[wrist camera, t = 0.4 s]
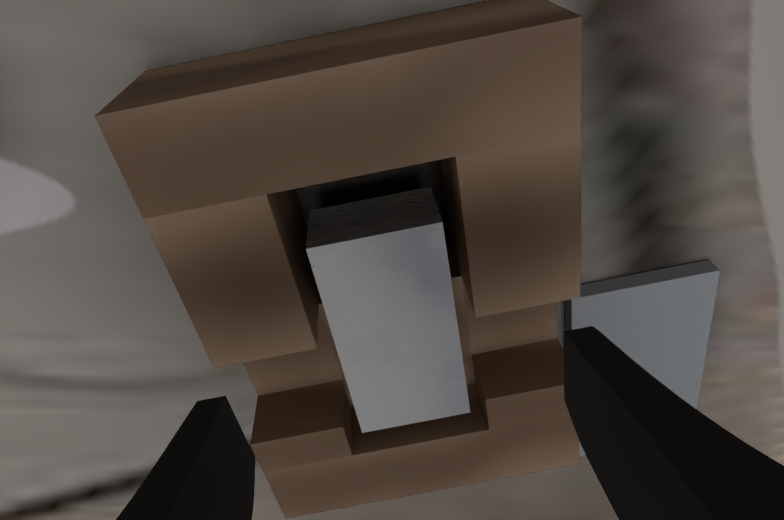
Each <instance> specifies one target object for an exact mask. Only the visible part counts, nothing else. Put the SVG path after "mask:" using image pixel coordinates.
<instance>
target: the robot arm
mask: <svg viewBox="0 0 784 520" xmlns="http://www.w3.org/2000/svg"><path fill="white" fill-rule="evenodd" d="M564 401H565V403H566V406H567V409H568V412H569V414H570V417H571V420H572V423H573V425H574V428H575V431H576V433H577V436H578V438H579V441H580V444H581V446H582V448H583V450H584V452H585V454H586V456H587V458H588V460H589V462H590V464H591V466H592V468H593V470H594V472H595V474H596V476H597V478H598V480H599V481H600V483H601V485H602V487H603V489H604V491H605V493H606V495H607V497H608V499H609V501H610V503H611V505H612V507H613V509H614V511H615V513H616V515H617V516H618V518H619V520H784V466H783V465H781V464H779V463H778V462H776V461H774V460H773V459H771V458H769V457H768V456H766V455H764V454H763V453H761V452H760V451H758V450H756V449H755V448H753V447H751V446H750V445H748V444H747V443H745V442H743V441H742V440H740V439H739V438H737V437H736V436H734V435H733V434H731V433H730V432H728V431H727V430H725V429H724V428H722V427H721V426H719V425H718V424H717V423H715V422H714V421H712V420H711V419H709V418H708V417H707V416H705V415H704V414H702V413H701V412H699V411H698V410H697V409H695V408H694V407H693V406H691V405H690V404H688V403H687V402H686V401H684V400H683V399H682V398H680V397H679V396H678V395H677V394H675V393H674V392H673V391H671V390H670V389H669V388H667V387H666V386H665V385H664V384H662V383H661V382H660V381H658V380H657V379H656V378H655V377H653V376H652V375H651V374H650V373H648V372H647V371H646V370H645V369H643V368H642V367H641V366H640V365H639V364H637V363H636V362H635V361H634V360H633V359H631V358H630V357H629V356H628V355H627V354H626V353H624V352H623V351H622V350H621V349H620V348H618V347H617V346H616V345H615V344H614V343H613V342H612V341H610V340H609V339H608V338H607V337H606V336H605V335H603V334H602V333H601V332H600V331H599V330H598V329H596V328H595V327H593V326H590V327H584V328H579V329H574V330H569V331H564ZM254 481H255V457H254V455H253V453H252V451H251V449H250V446H249V444H248V442H247V440H246V438H245V436H244V434H243V432H242V429H241V427H240V425H239V423H238V421H237V419H236V417H235V415H234V413H233V410H232V408H231V406H230V404H229V402H228V400H227V398H226V396H222V397H217V398H212V399H207V400H201V401H197V403H196V404H195V406H194V407H193V409H192V410H191V411H190V413H189V414H188V416H187V417H186V419H185V420H184V422H183V423H182V425H181V426H180V428H179V429H178V431H177V433H176V434H175V436H174V437H173V439H172V440H171V442H170V443H169V445H168V446H167V448H166V449H165V451H164V452H163V454H162V455H161V457H160V458H159V460H158V461H157V463H156V464H155V466H154V467H153V469H152V470H151V471H150V473H149V474H148V476H147V477H146V479H145V480H144V482H143V483H142V485H141V486H140V487H139V489H138V490H137V492H136V493H135V495H134V496H133V497H132V499H131V500H130V502H129V503H128V504H127V506H126V507H125V508H124V510H123V511H122V512H121V514H120V515H119V516H118V518H117V519H116V520H251V518H252V511H253V503H254Z"/></svg>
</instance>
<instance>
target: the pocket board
mask: <svg viewBox="0 0 784 520" xmlns="http://www.w3.org/2000/svg"><path fill="white" fill-rule="evenodd" d="M581 99H582V16H580V15H578V14H576V13H573V12H571V11H569V10H567V9H565V8H562V7H560V6H558V5H556V4H554V3H551V2H549V1H547V0H488V1H483V2H478V3H474V4H469V5H464V6H459V7H454V8H449V9H444V10H440V11H435V12H430V13H425V14H420V15H415V16H410V17H406V18H401V19H396V20H391V21H386V22H381V23H376V24H372V25H367V26H362V27H357V28H352V29H347V30H342V31H338V32H333V33H328V34H323V35H318V36H313V37H308V38H303V39H299V40H294V41H289V42H284V43H279V44H274V45H269V46H265V47H260V48H255V49H250V50H245V51H240V52H235V53H231V54H226V55H221V56H216V57H211V58H206V59H201V60H197V61H192V62H187V63H182V64H177V65H172V66H167V67H163V68H158V69H153V70H148V71H145V72H144V73H143V74H142V75H141V76H139V77H138V78H137V79H136V80H135V81H134V82H133V83H131V84H130V85H129V86H128V87H127V88H126V89H125V90H124V91H122V92H121V93H120V94H119V95H118V96H117V97H116V98H115V99H113V100H112V101H111V102H110V103H109V104H108V105H107V106H106V107H104V108H103V109H102V110H101V111H100V112H99V113H98V114H96V115H95V118H96V120H97V122H98V124H99V126H100V128H101V130H102V132H103V134H104V136H105V139H106V141H107V143H108V145H109V147H110V149H111V151H112V153H113V155H114V158H115V160H116V162H117V164H118V166H119V168H120V170H121V172H122V174H123V177H124V179H125V181H126V183H127V185H128V187H129V189H130V191H131V193H132V196H133V198H134V200H135V202H136V204H137V206H138V208H139V210H140V212H141V215H142V217H143V219H144V221H145V223H146V225H147V227H148V229H149V231H150V234H151V236H152V238H153V240H154V242H155V244H156V246H157V248H158V250H159V253H160V255H161V257H162V259H163V261H164V263H165V265H166V267H167V269H168V272H169V274H170V276H171V278H172V280H173V282H174V284H175V286H176V288H177V291H178V293H179V295H180V297H181V299H182V301H183V303H184V305H185V307H186V309H187V312H188V314H189V316H190V318H191V320H192V322H193V324H194V326H195V328H196V331H197V333H198V335H199V337H200V339H201V341H202V343H203V345H204V347H205V350H206V352H207V354H208V356H209V358H210V360H211V362H212V364H213V366H214V368H219V367H224V366H229V365H234V364H239V363H244V364H245V367H246V369H247V371H248V374H249V376H250V378H251V380H252V383H253V385H254V387H255V390H256V392H257V394H258V400H257V406H256V412H255V419H254V425H253V432H252V438H251V447H252V449H253V451H254V453H255V455H256V457H257V459H258V461H259V464H260V466H261V468H262V470H263V472H264V474H265V476H266V478H267V480H268V483H269V485H270V487H271V489H272V491H273V493H274V495H275V497H276V499H277V501H278V504H279V506H280V508H281V510H282V512H283V514H284V516H285V518H292V517H297V516H302V515H308V514H313V513H318V512H324V511H329V510H334V509H340V508H345V507H350V506H356V505H361V504H366V503H372V502H377V501H382V500H388V499H393V498H398V497H404V496H409V495H414V494H420V493H425V492H430V491H436V490H441V489H446V488H452V487H457V486H462V485H468V484H473V483H478V482H484V481H489V480H494V479H500V478H505V477H510V476H516V475H521V474H526V473H532V472H537V471H543V470H548V469H553V468H559V467H564V466H569V465H575V464H579V438H578V436H577V433H576V431H575V428H574V425H573V423H572V420H571V417H570V414H569V412H568V409H567V406H566V403H565V401H564V350H563V348H562V346H561V344H560V342H559V340H558V339H557V302H559V301H565V300H570V299H575V298H580V261H581ZM436 160H439V161H440V168H441V176H442V183H443V190H444V197H445V204H446V211H447V218H448V225H449V233H450V240H451V247H452V248H447V255H448V262H449V269H450V276H451V282H452V289H453V296H454V303H455V310H456V317H457V324H458V330H459V337H460V344H461V351H462V358H463V365H464V372H465V378H466V385H467V392H468V399H469V406H470V413H465V414H460V415H455V416H449V417H444V418H439V419H433V420H428V421H423V422H418V423H412V424H407V425H402V426H397V427H391V428H386V429H381V430H376V431H370V432H365V433H362V431H361V428H360V424H359V421H358V418H357V415H356V411H355V408H354V405H353V401H352V398H351V395H350V392H349V388H348V385H347V382H346V379H345V375H344V372H343V369H342V365H341V362H340V359H339V356H338V352H337V349H336V346H335V343H334V339H333V336H332V333H331V330H330V326H329V323H328V320H327V316H326V313H325V310H324V307H323V303H322V300H321V297H320V294H319V290H318V287H317V284H316V280H315V277H314V274H313V271H312V267H311V264H310V261H309V258H308V254H307V251H306V242H307V228H306V225H305V222H304V218H303V215H302V212H301V208H300V205H299V202H298V198H297V195H296V191H295V189H296V188H301V187H306V186H311V185H316V184H321V183H326V182H331V181H336V180H341V179H346V178H351V177H356V176H361V175H366V174H371V173H376V172H381V171H386V170H391V169H396V168H401V167H406V166H411V165H416V164H421V163H426V162H431V161H436Z"/></svg>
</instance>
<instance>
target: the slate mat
mask: <svg viewBox="0 0 784 520" xmlns="http://www.w3.org/2000/svg"><path fill="white" fill-rule="evenodd" d="M719 274H720V270H719V269H718V268H717V267H716V266H715V265H714V264H713V263H712V262H711V261H710V260H705V261H700V262H695V263H690V264H684V265H679V266H674V267H669V268H664V269H659V270H653V271H648V272H643V273H638V274H633V275H628V276H623V277H617V278H612V279H607V280H602V281H597V282H592V283H587V284H581V285H580V298H575V299H570V300H565V331H569V330H574V329H579V328H584V327H590V326H593V327H595V328H596V329H598V330H599V331H600V332H601V333H602V334H603V335H605V336H606V337H607V338H608V339H609V340H610V341H612V342H613V343H614V344H615V345H616V346H617V347H618V348H620V349H621V350H622V351H623V352H624V353H626V354H627V355H628V356H629V357H630V358H631V359H633V360H634V361H635V362H636V363H637V364H639V365H640V366H641V367H642V368H643V369H645V370H646V371H647V372H648V373H650V374H651V375H652V376H653V377H655V378H656V379H657V380H658V381H660V382H661V383H662V384H664V385H665V386H666V387H667V388H669V389H670V390H671V391H673V392H674V393H675V394H677V395H678V396H679V397H680V398H682V399H683V400H684V401H686V402H687V403H688V404H690V405H691V406H693V407H694V408H695V409H697V405H698V399H699V393H700V387H701V381H702V375H703V369H704V363H705V357H706V351H707V345H708V339H709V334H710V328H711V322H712V316H713V310H714V304H715V298H716V292H717V286H718V280H719ZM585 455H586V454H585V452H584V450H583V448H582V446H581V444H580V441H579V457H580V456H585Z"/></svg>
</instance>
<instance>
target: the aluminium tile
mask: <svg viewBox="0 0 784 520" xmlns="http://www.w3.org/2000/svg"><path fill="white" fill-rule="evenodd" d="M306 251H307V254H308V258H309V261H310V264H311V267H312V271H313V274H314V277H315V280H316V284H317V287H318V290H319V294H320V297H321V300H322V303H323V307H324V310H325V313H326V316H327V320H328V323H329V326H330V330H331V333H332V336H333V339H334V343H335V346H336V349H337V352H338V356H339V359H340V362H341V365H342V369H343V372H344V375H345V379H346V382H347V385H348V388H349V392H350V395H351V398H352V401H353V405H354V408H355V411H356V415H357V418H358V421H359V424H360V428H361V431H362V433H365V432H370V431H376V430H381V429H386V428H391V427H397V426H402V425H407V424H412V423H418V422H423V421H428V420H433V419H439V418H444V417H449V416H455V415H460V414H465V413H470V406H469V399H468V392H467V385H466V378H465V372H464V365H463V358H462V351H461V344H460V337H459V330H458V324H457V317H456V310H455V303H454V296H453V289H452V282H451V276H450V269H449V262H448V255H447V248H446V241H445V235H444V228H443V222H442V219H441V216H440V213H439V210H438V207H437V204H436V201H435V198H434V195H433V192H432V189H431V187H426V188H421V189H416V190H411V191H406V192H401V193H396V194H391V195H386V196H381V197H376V198H371V199H366V200H361V201H356V202H351V203H346V204H341V205H336V206H331V207H326V208H321V209H316V210H311V211H309V217H308V230H307V242H306Z"/></svg>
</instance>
